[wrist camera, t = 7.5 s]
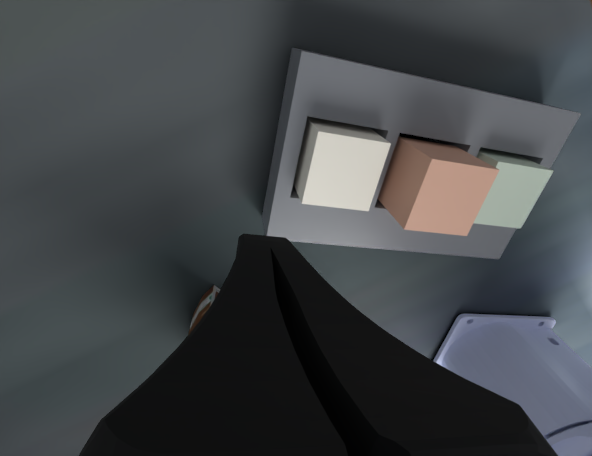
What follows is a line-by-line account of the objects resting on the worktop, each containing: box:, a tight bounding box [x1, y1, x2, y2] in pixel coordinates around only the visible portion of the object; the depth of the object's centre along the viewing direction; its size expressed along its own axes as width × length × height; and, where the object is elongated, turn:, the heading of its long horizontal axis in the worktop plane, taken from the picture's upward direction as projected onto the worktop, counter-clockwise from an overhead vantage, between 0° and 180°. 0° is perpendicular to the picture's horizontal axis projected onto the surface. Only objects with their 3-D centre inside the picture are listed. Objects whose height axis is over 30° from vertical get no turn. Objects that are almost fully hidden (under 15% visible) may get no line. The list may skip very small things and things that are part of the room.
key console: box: [262, 47, 581, 259], centre depth 19 cm, size 15×9×2 cm, turn 78°
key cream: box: [293, 116, 391, 211], centre depth 18 cm, size 3×3×4 cm
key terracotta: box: [377, 136, 499, 236], centre depth 17 cm, size 3×3×4 cm
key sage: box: [474, 147, 553, 229], centre depth 20 cm, size 3×3×4 cm
